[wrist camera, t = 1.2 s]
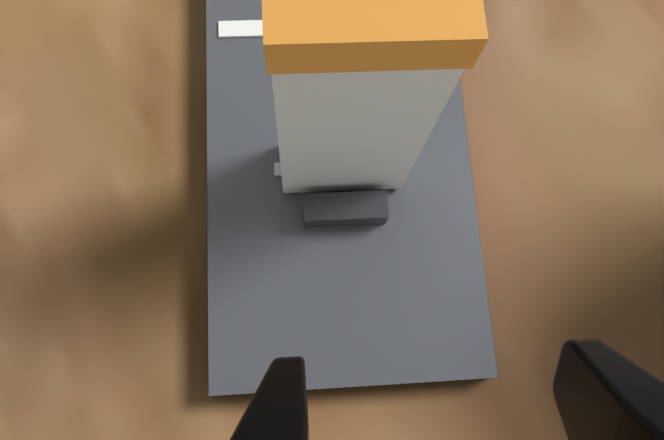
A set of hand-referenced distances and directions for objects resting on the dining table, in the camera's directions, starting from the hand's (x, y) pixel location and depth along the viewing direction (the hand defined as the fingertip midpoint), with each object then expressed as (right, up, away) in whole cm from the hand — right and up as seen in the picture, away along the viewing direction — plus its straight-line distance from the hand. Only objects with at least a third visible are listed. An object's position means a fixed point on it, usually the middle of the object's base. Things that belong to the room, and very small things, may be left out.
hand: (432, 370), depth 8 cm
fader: (-1, +4, +14) cm, 15 cm away
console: (-1, +5, +15) cm, 16 cm away
